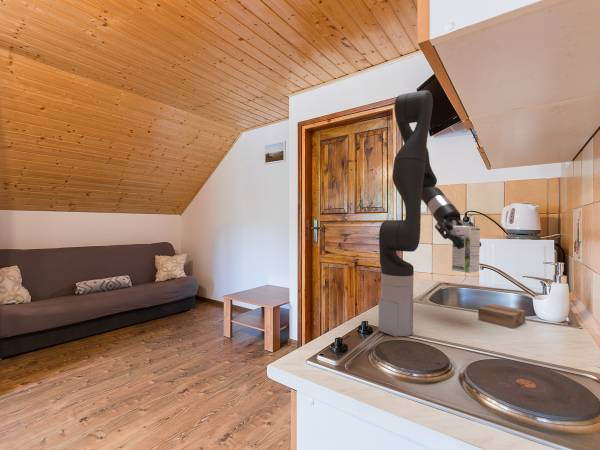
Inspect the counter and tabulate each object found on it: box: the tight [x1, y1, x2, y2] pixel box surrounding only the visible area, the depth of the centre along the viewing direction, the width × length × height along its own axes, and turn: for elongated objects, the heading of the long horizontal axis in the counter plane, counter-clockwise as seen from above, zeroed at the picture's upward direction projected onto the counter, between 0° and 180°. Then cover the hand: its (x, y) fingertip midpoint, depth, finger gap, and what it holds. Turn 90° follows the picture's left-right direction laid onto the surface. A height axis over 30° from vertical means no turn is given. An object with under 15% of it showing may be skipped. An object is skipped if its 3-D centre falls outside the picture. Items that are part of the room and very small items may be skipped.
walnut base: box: [477, 303, 526, 329], centre depth 97 cm, size 10×10×4 cm
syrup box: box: [451, 225, 481, 274], centre depth 93 cm, size 6×6×14 cm
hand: (470, 247), depth 92 cm, fingers closed on syrup box, 6 cm apart
